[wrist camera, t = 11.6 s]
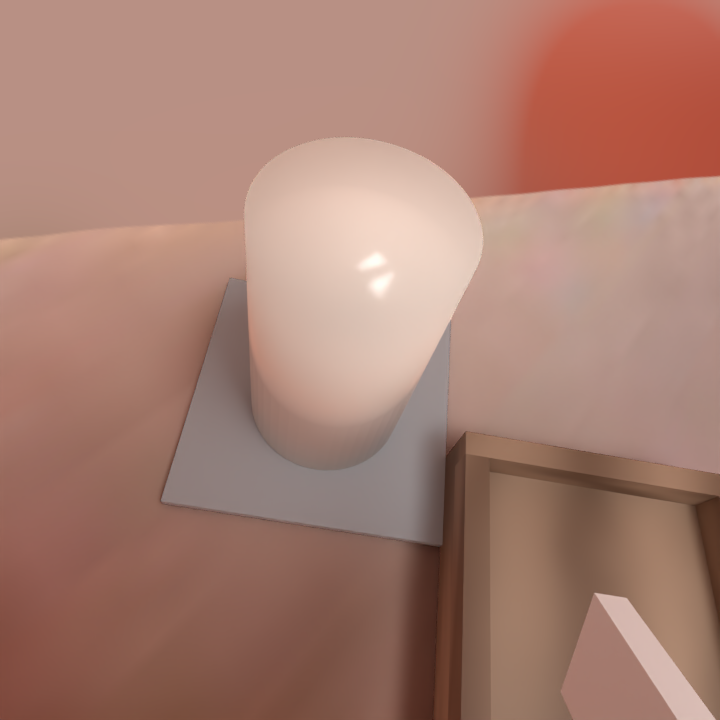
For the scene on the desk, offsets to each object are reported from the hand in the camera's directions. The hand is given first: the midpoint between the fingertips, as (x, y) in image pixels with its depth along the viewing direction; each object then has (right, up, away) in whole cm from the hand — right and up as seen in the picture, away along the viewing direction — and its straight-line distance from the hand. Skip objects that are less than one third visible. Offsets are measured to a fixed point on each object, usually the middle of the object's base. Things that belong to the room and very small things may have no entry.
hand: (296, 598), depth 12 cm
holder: (+11, -6, +11) cm, 16 cm away
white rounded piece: (0, +4, +15) cm, 15 cm away
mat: (0, +3, +15) cm, 15 cm away
